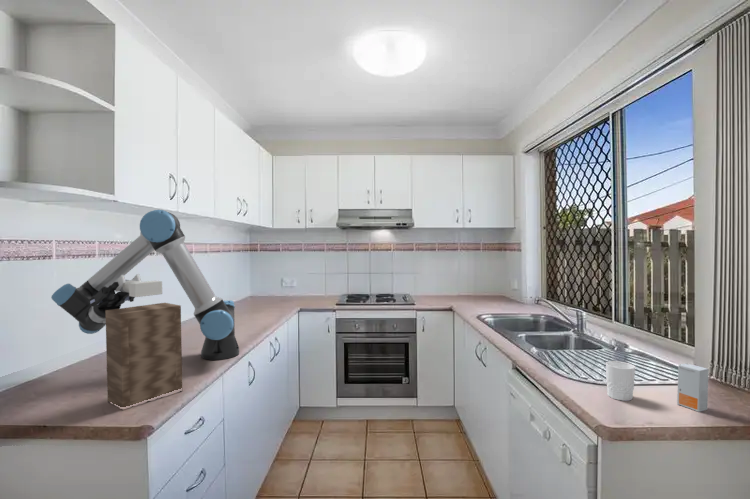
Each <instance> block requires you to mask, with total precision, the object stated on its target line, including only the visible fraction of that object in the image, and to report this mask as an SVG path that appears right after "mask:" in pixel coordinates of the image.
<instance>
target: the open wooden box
mask: <svg viewBox="0 0 750 499" xmlns="http://www.w3.org/2000/svg"><path fill="white" fill-rule="evenodd" d="M181 307H182V305H180V304H174V303H169V302H161V303H160V302H159V303H152V304H145V305H144V304H143V305H137V306H129V307H123V308H121V307H120V309H113V310H105V313H106V325H105V343H106V344H105V345H106V346H105V347H106V348H105V349H106V352H105V353H106V380H107V381H106V383H107V384H106V385H107V402H108V401H109V402H112V403H113V404H116V405H118V406H120V407H126V406H130V405H133V404H136V403H139V402H142V401H144V400H148V399H151V398H154V397H157V396H160V395H162V394H166V393H169V392H172V391H174V390H178V389H181V388H182V389H183V360H182V359H183V356H182V354H183V353H182V351H183V349H182V347H183V346H182V345H183V344H182V308H181Z"/></svg>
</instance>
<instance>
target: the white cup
mask: <svg viewBox="0 0 750 499" xmlns="http://www.w3.org/2000/svg"><path fill="white" fill-rule="evenodd" d="M605 372H606V373H605V379H606V386H607V387H606V393H607V397H609V398H611V399H614V400H616V401H621V402H622V401H623V402H625V401H627V402H629V401H631V400H633V398H634V395H633V394H634V388H635V387H634V386H635V377H636V376H635V375H636V366H635V365H634V364H632V363H630V362H629V363H628V362H625V361H620V360H618V361H617V360H615V361H614V360H613V361H612V360H610V361H606V362H605Z"/></svg>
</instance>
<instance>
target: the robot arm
mask: <svg viewBox="0 0 750 499" xmlns="http://www.w3.org/2000/svg"><path fill="white" fill-rule="evenodd" d="M180 223H181V222H180V220H179V219H178V217H177V216H176V215H175V214H173V213H172V212H168V211H166V210H163V209H154V210H150V211H148V212H147V213H145V214H144V215H143V216H142V218H141V219H140V222H139V231H140V235H139V236H137V238H135V239H134V240H133V241H132V242H130V243H129V245H127V246H126V247H125V248H124V249H123V250H121V252H119V253H118V254H117V255H115V256H114V257H113V258H112V259H111V260H109V261H108V262H107V263H106V264H105V265H104V266H103V267H101V268H100V269H99V270H98V271H97V272H95V273H94V274H93V275H92V276H90V277H89V278H88V279H87V280H86V281H85V282H84V283H83V284H81V285H80V286H79V287H76V286H74V285H72V283H66V284H64V285H62V286H60V287H59V288H58V289H56V290H55V292H54V293H52V295H51V300H52V301H53V302H54V303H55V304H57V306H58V307H60V308H61V309H63V310H64V311H65V312H66V313H68V314H69V315H70V316H71V317H73V318H74V319H75V320H76V321H77V322H78V327H79V330H80V331H81V332H82V333H84V334H87V335H93V334H96V333H99V332H100V330H102V329H103V328H104V327H106V313H105V310H113V309H120V308H121V306H122V304H124V303H125V302H126V301H128V302H130V303H131V302H132V303H133V302H134V301H135V298H136V297H131V296H129V293H128V292H121V291H119V290H120V289H121V288H122V287H123V286H124V284H125V283H126V281H125V280H126V278H125V276H126V275H127V274H128V273H129V272H131V271H132V270H133V269H134V268H135V267H137V265H138V264H140V263H141V262H142V261H143V260H144V259H145V258H147V257H148V256H149V255H150V254H151V253H152V252H156V253H159V254H162V255H161V256H163V258H164V259H165V261H166V263H167V265H168V266H169V268H170V269H171V272H173V274H174V276H175V277H176V280H177V281H178V283H179V284H180V286H181V288H182V289H183V291H184V293H185V294H186V295H187V297H188V299H189V300H190V302H191V304H192V306H193V307H194V311H193V316H194V317H195V318H196V320H197V322H198V324H199V327H200V332H201V333H202V334H203V336H204V338H205V339H204V341H203V344H202V349H201V351H200V356H201V358H202V359H204V360H210V361H211V360H214V361H216V360H218V361H219V360H225V359H227V360H228V359H231V358H234V357H236V356H239V354H240V346H239V344H238V343H239V342H238V341H237V338H236V335H235V333H236V332H235V329H236V328H235V309H236V308H235V307H236V306H235V302H234V300H223V298H221V297H219V296H216V295H215V293H214V291H213V289H212V287H211V286H210V284H209V283H208V281H207V279H206V277H205V276H204V274H203V272H202V270H201V269H200V267H199V266H198V264H197V262H196V261H195V259H194V257H193V255H192V254H191V252H190V250H189V249H188V247H187V245H186V244H185V239H186V236H185V233H184V232H183V230H182V229H181V224H180ZM131 280H133V281H141V282H142V280H141V276H140V274H139V273H136V274H135V275H134V276H133V277H132V279H131Z"/></svg>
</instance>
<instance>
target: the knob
mask: <svg viewBox="0 0 750 499" xmlns="http://www.w3.org/2000/svg"><path fill="white" fill-rule="evenodd" d="M125 281H126V283H125V284H124V286H123V287H122V288H121V289H120V290H119V291H121V292H128V293H129V296H131V297H135V298H140V297H141V298H142V297H150V296H158V295H163V281H161V280H150V281H149V280H147V281H142V280H141V281H133V280H132V279H125ZM119 291H118V292H119Z"/></svg>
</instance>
